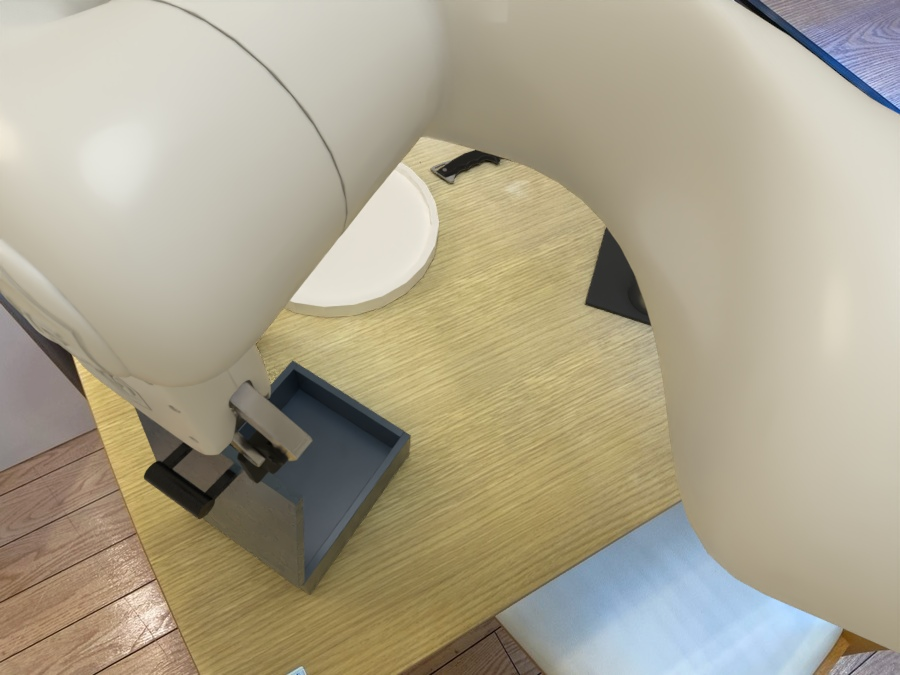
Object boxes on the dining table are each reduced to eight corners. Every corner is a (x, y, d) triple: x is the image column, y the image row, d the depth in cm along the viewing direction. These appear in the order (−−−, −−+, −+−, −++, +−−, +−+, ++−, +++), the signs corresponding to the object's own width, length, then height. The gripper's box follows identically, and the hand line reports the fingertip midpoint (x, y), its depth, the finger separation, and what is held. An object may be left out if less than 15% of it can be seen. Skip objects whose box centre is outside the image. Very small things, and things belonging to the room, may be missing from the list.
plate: (437, 321, 79) (439, 311, 77) (211, 313, 77) (205, 302, 75) (438, 161, 93) (439, 149, 91) (246, 151, 91) (243, 138, 89)
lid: (134, 379, 46) (80, 422, 43) (303, 495, 43) (256, 550, 40) (175, 488, 60) (137, 526, 57) (305, 581, 57) (270, 626, 54)
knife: (588, 140, 98) (571, 119, 100) (590, 135, 97) (573, 114, 99) (440, 187, 91) (425, 164, 93) (441, 183, 90) (426, 159, 92)
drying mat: (701, 257, 88) (703, 255, 88) (689, 338, 81) (690, 336, 81) (605, 228, 89) (606, 225, 89) (584, 304, 82) (585, 302, 82)
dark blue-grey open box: (299, 383, 73) (292, 359, 68) (409, 454, 70) (411, 435, 65) (190, 508, 65) (174, 492, 60) (310, 595, 62) (302, 586, 57)
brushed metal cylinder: (675, 287, 84) (697, 255, 78) (669, 322, 81) (691, 291, 75) (632, 273, 85) (650, 240, 79) (624, 308, 82) (642, 276, 76)
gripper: (-127, 207, 25) (65, 391, 40) (201, 443, 21) (278, 549, 36) (34, 106, 28) (155, 310, 43) (340, 294, 25) (358, 447, 39)
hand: (211, 419), depth 39 cm, fingers open, 9 cm apart
